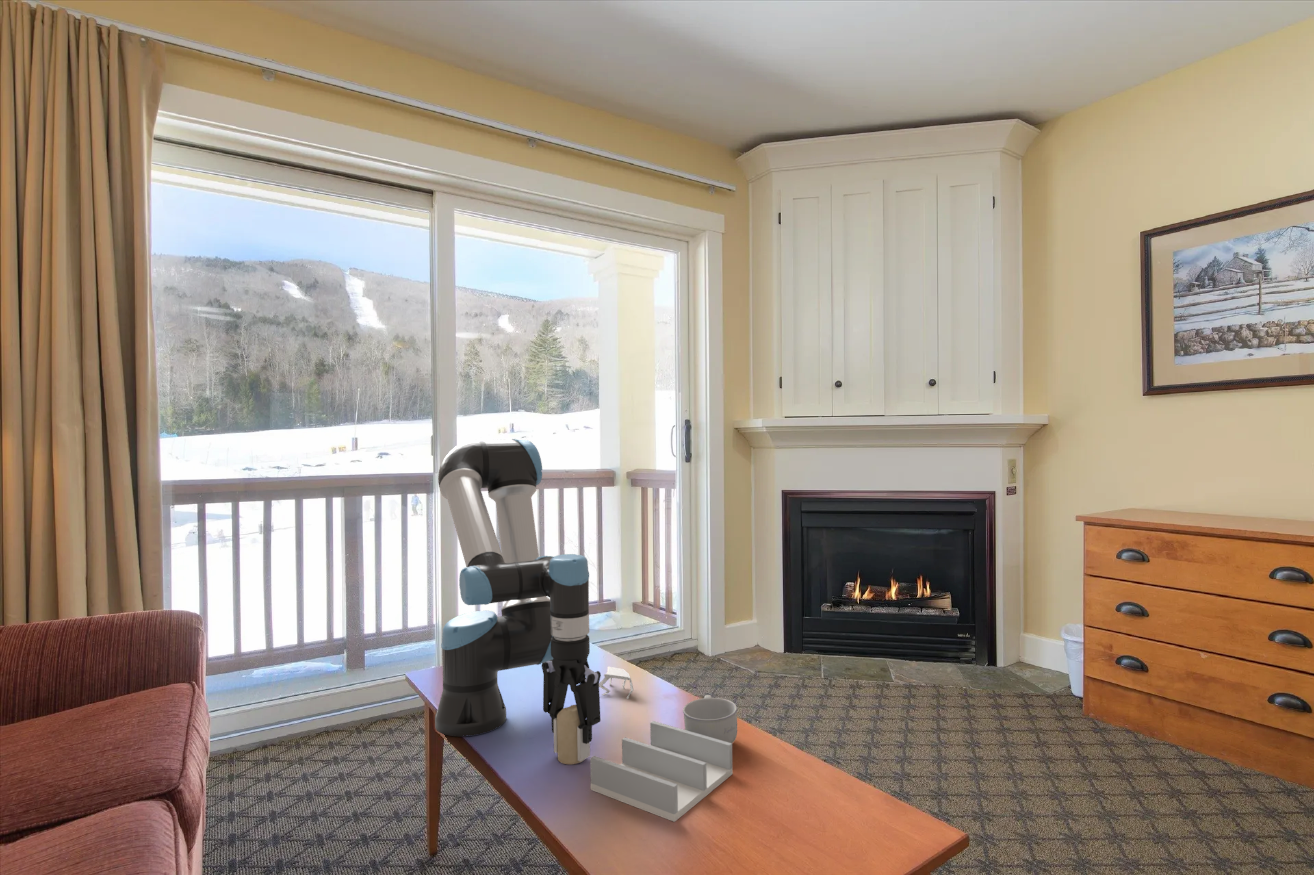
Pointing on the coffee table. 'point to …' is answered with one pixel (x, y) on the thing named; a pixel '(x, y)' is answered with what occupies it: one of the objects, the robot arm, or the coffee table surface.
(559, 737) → the candle
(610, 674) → the origami figure
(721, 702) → the teacup
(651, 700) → the coffee table surface
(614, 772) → the slot rack
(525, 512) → the robot arm
